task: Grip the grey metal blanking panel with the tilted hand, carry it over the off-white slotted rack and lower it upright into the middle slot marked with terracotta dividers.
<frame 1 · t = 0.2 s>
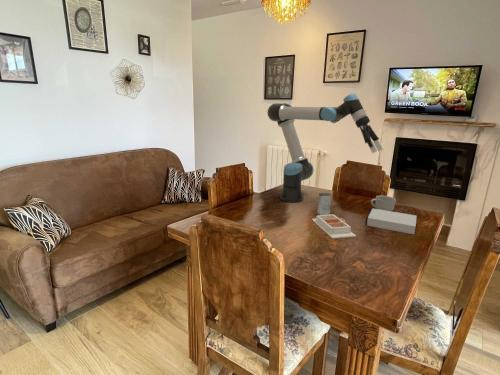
hand: (378, 151, 168), 35 cm above the table, tool tilted 35°, fingers open, 13 cm apart
panel: (323, 214, 168), on the table
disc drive: (390, 225, 154), on the table
teacup: (381, 211, 174), on the table
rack: (332, 227, 149), on the table
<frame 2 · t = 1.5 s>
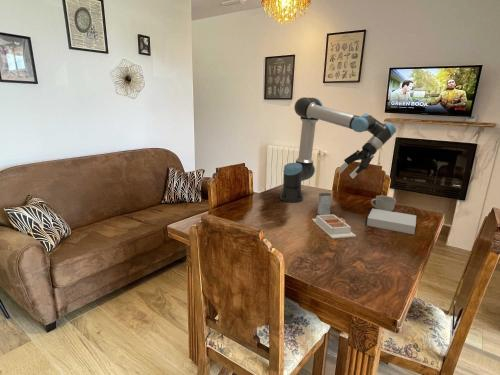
hand: (344, 174, 164), 23 cm above the table, tool tilted 45°, fingers open, 13 cm apart
nothing on the table moved.
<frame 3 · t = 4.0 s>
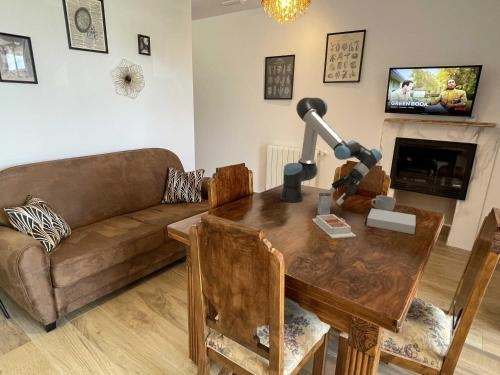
hand: (331, 199, 165), 9 cm above the table, tool tilted 45°, fingers open, 13 cm apart
nothing on the table moved.
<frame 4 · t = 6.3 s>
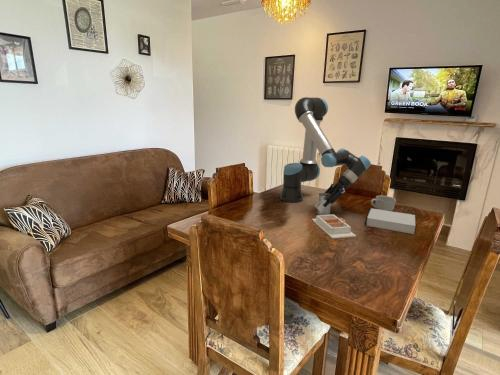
hand: (317, 208, 166), 3 cm above the table, tool tilted 45°, fingers closed on panel, 3 cm apart
panel: (323, 214, 168), on the table, touching gripper
everything else where it was.
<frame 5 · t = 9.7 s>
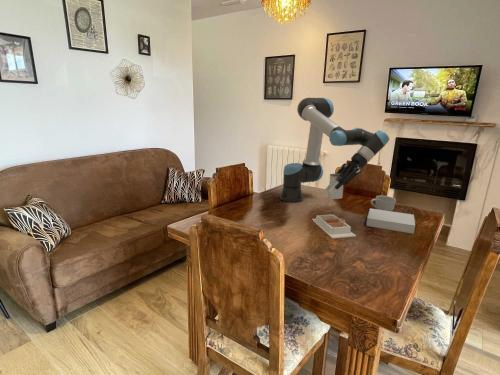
hand: (328, 191, 145), 19 cm above the table, tool tilted 45°, fingers closed on panel, 3 cm apart
panel: (335, 197, 147), point 15 cm above the table, touching gripper
everything else where it was.
when the fingers open (5 cm above the table, at t = 13.2 s): panel drops 1 cm, resting on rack.
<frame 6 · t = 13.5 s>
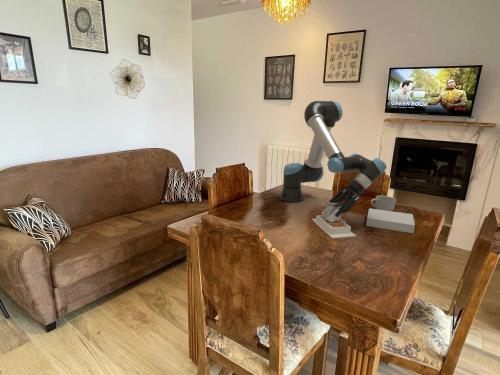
hand: (326, 217, 147), 6 cm above the table, tool tilted 45°, fingers open, 7 cm apart
panel: (332, 226, 149), point 1 cm above the table, touching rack
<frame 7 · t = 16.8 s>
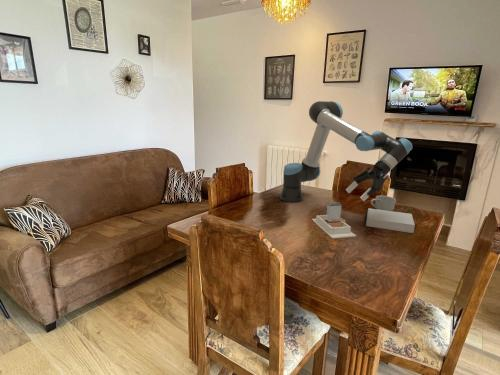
hand: (354, 195, 147), 17 cm above the table, tool tilted 45°, fingers open, 13 cm apart
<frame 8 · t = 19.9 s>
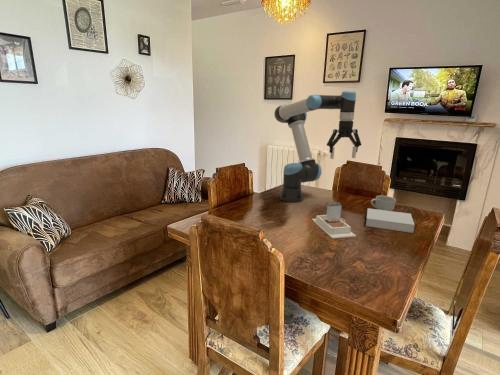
hand: (342, 158, 169), 31 cm above the table, tool pointing down, fingers open, 13 cm apart
at the end: panel 0.0 cm off-centre on the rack, point 0.8 cm above the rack's base; panel tilted 0°; the gripper is holding nothing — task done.
